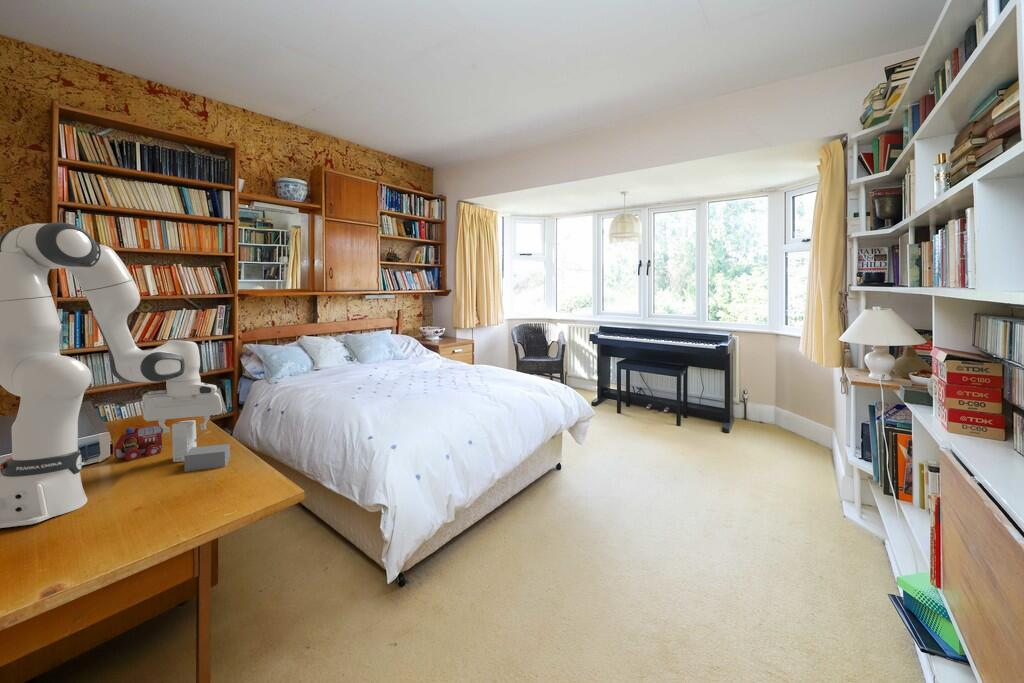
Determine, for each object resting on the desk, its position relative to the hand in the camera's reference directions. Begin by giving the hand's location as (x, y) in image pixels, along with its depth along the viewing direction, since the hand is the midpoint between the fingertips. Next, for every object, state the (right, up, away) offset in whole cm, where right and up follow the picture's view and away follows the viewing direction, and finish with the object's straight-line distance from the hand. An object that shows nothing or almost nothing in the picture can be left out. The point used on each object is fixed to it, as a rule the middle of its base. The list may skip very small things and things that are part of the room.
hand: (185, 431), depth 137 cm
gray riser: (+12, -10, -6) cm, 16 cm away
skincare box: (0, -9, 0) cm, 9 cm away
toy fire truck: (-16, -9, +2) cm, 19 cm away
